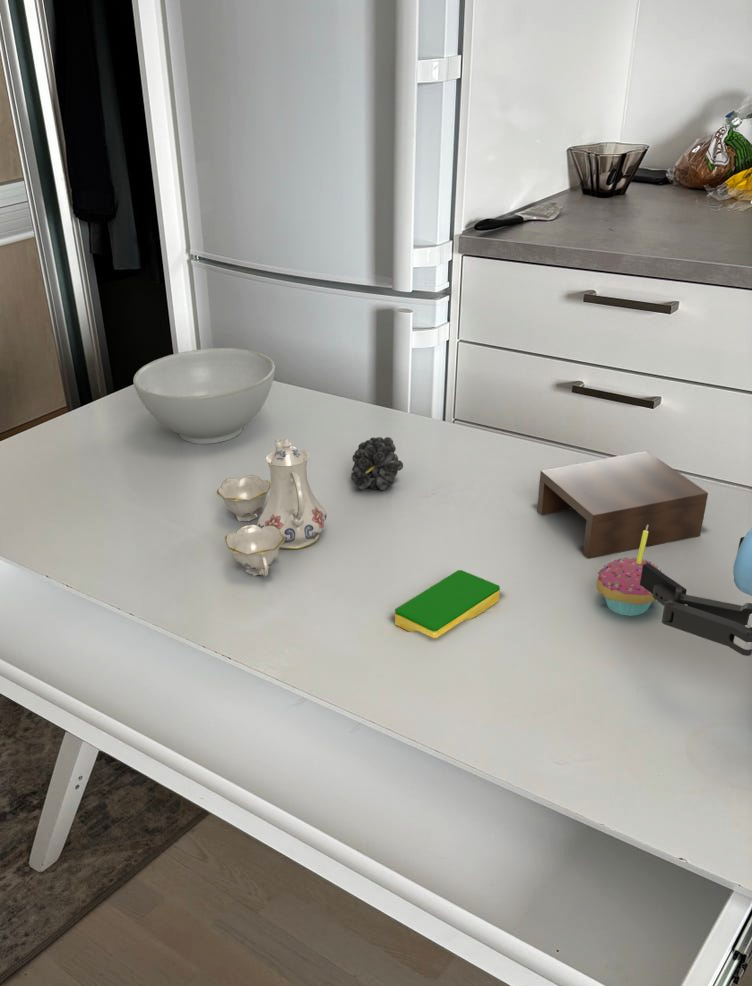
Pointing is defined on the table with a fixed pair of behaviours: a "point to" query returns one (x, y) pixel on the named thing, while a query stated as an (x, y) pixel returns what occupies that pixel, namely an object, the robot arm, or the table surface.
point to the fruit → (375, 464)
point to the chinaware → (273, 510)
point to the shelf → (625, 501)
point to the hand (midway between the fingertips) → (692, 560)
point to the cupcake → (626, 584)
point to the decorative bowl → (206, 391)
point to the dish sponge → (447, 604)
